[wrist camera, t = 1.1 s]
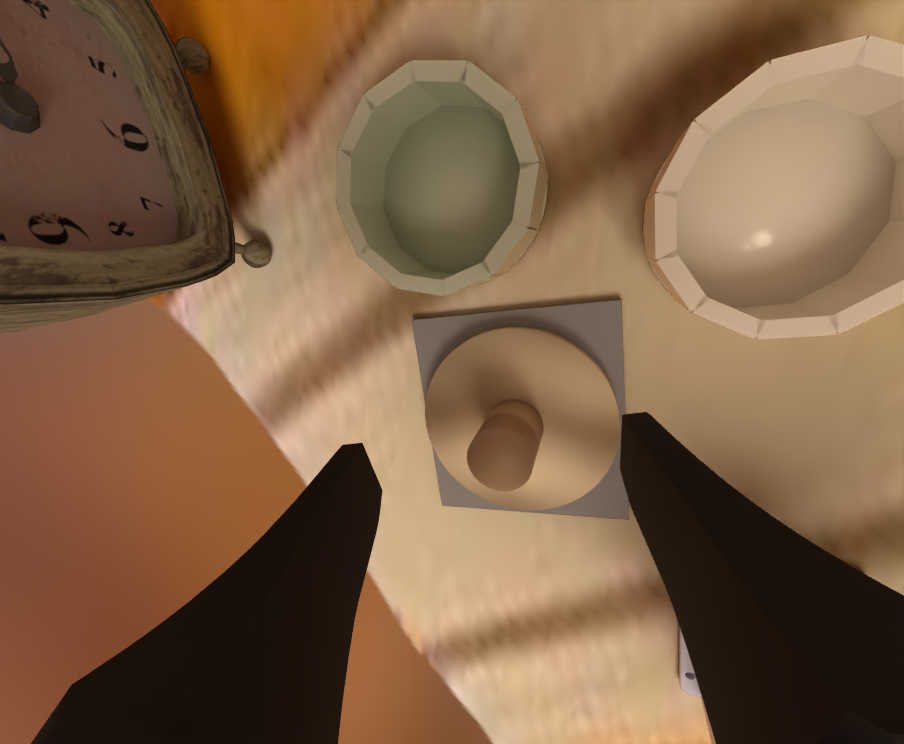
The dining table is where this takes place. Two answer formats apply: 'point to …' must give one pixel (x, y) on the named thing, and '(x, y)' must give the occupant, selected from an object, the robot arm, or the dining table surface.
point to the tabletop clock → (103, 163)
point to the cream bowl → (789, 196)
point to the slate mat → (578, 322)
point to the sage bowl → (440, 178)
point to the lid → (523, 418)
